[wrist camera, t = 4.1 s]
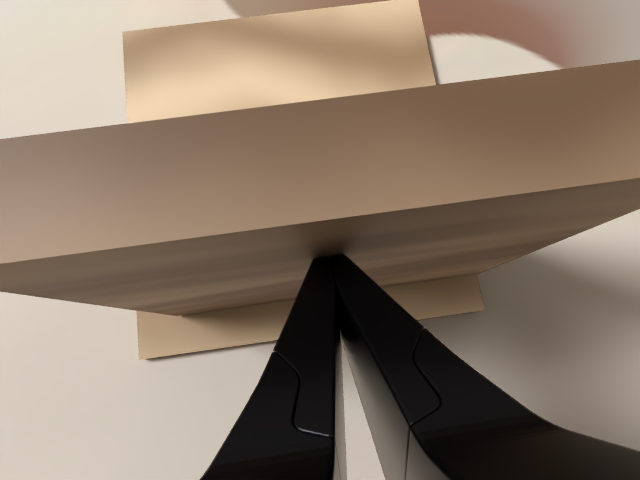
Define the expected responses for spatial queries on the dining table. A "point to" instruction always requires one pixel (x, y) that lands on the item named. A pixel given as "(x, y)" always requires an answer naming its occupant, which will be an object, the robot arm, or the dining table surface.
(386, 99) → the brown wooden slab
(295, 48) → the light tan wooden board
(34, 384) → the dining table surface
